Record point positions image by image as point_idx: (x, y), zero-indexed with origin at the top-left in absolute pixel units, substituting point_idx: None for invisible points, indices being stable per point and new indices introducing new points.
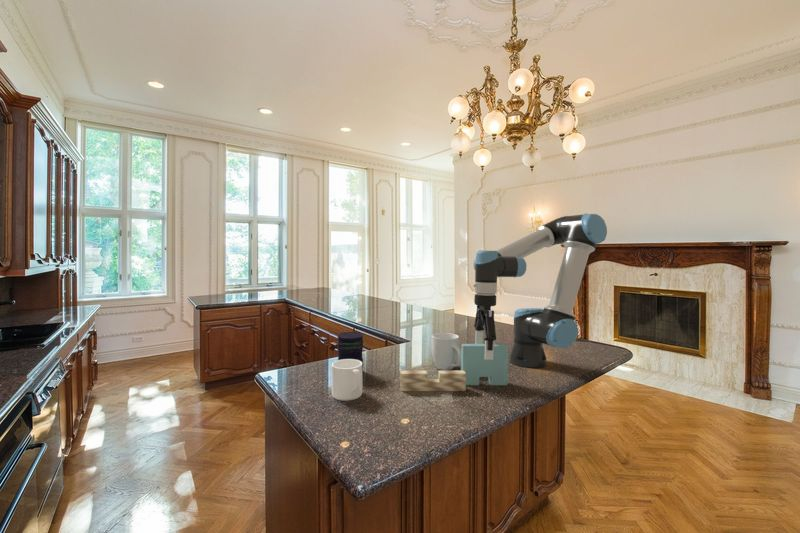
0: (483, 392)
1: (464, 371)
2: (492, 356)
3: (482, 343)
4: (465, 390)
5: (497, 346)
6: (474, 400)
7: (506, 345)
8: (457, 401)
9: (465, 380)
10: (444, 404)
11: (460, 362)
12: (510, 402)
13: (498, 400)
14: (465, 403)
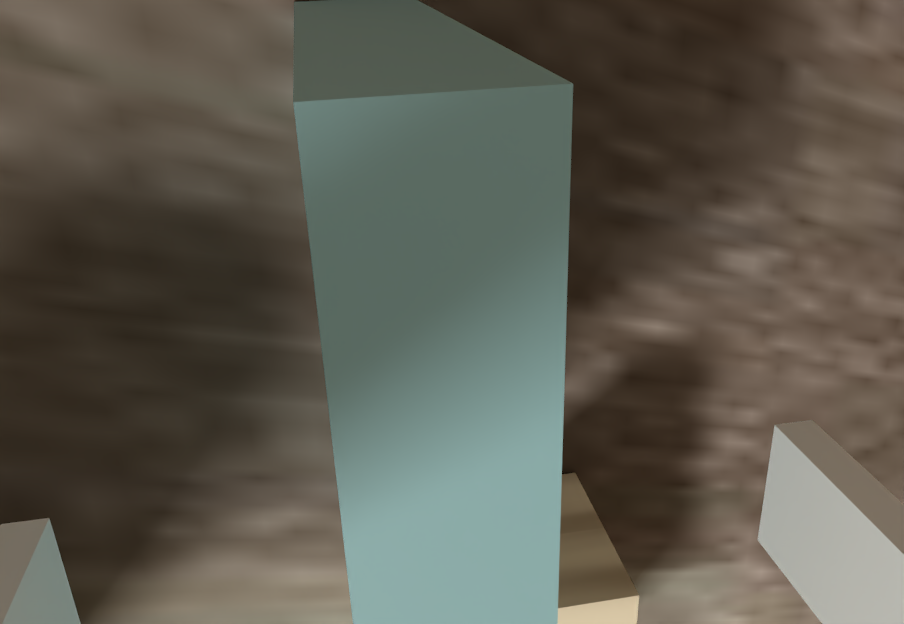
0: (616, 320)
1: (571, 606)
2: (842, 463)
3: (19, 609)
4: (575, 475)
5: (559, 384)
6: (775, 414)
7: (506, 127)
8: None
9: (610, 541)
10: (805, 610)
11: None
12: (871, 103)
13: (809, 211)
14: None
